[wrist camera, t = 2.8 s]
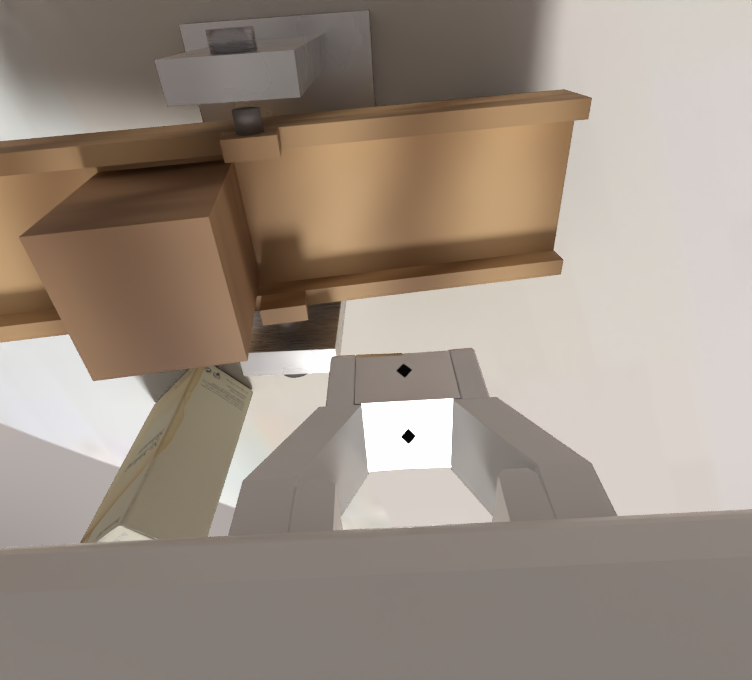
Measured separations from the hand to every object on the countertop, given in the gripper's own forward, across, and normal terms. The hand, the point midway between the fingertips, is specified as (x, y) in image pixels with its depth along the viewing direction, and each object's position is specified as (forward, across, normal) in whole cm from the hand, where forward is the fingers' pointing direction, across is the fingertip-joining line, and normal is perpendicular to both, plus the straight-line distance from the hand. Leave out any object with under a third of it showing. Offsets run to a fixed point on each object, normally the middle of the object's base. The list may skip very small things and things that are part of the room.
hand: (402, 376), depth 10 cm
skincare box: (+18, +13, +15) cm, 27 cm away
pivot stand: (+17, +4, 0) cm, 17 cm away
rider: (+10, +8, 0) cm, 13 cm away
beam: (+14, +5, 0) cm, 15 cm away
